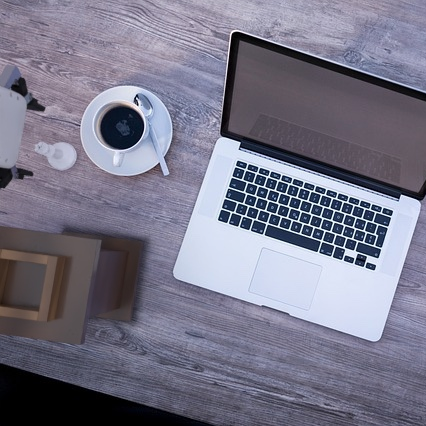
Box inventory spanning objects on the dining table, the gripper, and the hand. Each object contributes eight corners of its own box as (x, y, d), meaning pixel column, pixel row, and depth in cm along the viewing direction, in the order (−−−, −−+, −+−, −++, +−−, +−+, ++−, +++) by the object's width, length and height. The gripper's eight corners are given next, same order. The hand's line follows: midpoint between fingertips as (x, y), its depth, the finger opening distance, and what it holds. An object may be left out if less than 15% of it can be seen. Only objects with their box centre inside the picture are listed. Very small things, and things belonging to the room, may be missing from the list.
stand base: (52, 309, 102) (-28, 328, 77) (66, 231, 103) (-9, 224, 78) (131, 320, 102) (77, 342, 77) (144, 241, 103) (94, 238, 78)
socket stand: (-35, 327, 77) (-54, 331, 73) (-17, 223, 78) (-34, 221, 74) (84, 343, 77) (72, 348, 73) (101, 239, 78) (90, 239, 74)
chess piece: (82, 152, 102) (58, 141, 92) (66, 175, 101) (40, 167, 91) (59, 137, 102) (32, 124, 92) (42, 160, 101) (14, 150, 91)
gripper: (-59, 35, 68) (14, 79, 85) (-87, 180, 66) (-8, 195, 84) (5, 45, 68) (65, 86, 85) (-22, 190, 67) (44, 202, 84)
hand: (29, 140), depth 84 cm, fingers open, 9 cm apart
